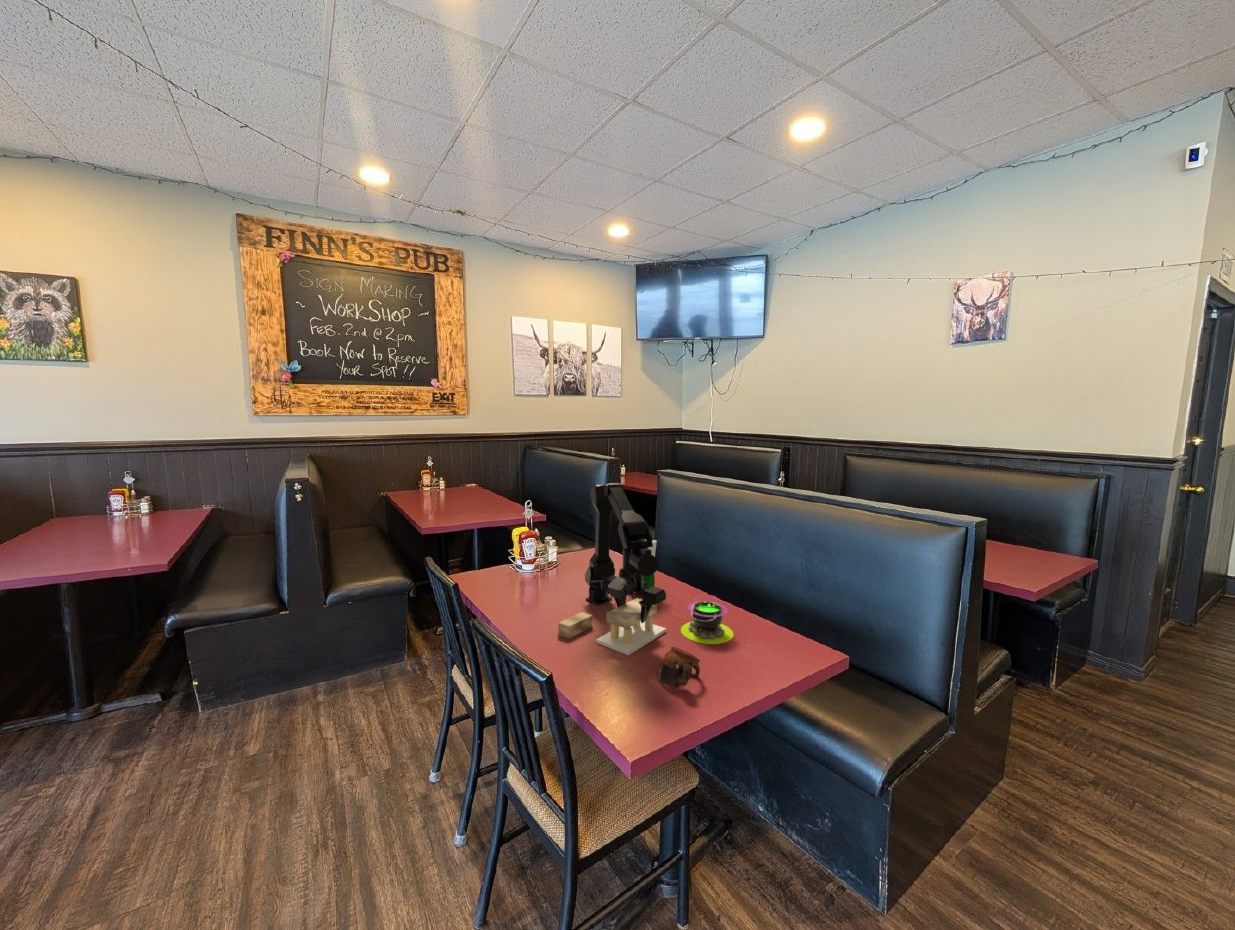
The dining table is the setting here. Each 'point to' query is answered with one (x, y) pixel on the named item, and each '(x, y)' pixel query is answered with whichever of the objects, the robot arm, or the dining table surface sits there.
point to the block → (575, 625)
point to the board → (628, 614)
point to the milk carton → (651, 579)
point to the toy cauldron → (707, 624)
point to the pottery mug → (683, 672)
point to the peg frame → (631, 636)
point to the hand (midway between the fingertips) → (632, 619)
